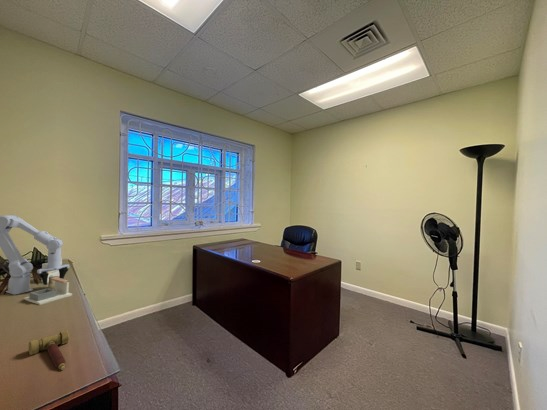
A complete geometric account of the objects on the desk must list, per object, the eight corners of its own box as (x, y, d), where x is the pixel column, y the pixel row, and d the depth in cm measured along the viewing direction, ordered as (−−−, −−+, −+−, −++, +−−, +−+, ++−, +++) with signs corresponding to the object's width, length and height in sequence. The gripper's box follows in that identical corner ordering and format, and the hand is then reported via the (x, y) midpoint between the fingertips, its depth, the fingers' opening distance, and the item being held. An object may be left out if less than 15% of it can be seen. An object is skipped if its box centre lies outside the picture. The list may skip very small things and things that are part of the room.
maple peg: (46, 289, 137) (47, 277, 137) (54, 287, 141) (55, 275, 141) (50, 290, 135) (51, 278, 136) (59, 288, 139) (59, 276, 139)
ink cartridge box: (55, 278, 157) (56, 256, 157) (61, 279, 156) (62, 257, 156) (40, 282, 148) (42, 259, 148) (46, 283, 147) (48, 259, 147)
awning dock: (24, 299, 122) (25, 283, 122) (56, 291, 135) (57, 276, 135) (39, 304, 117) (40, 287, 117) (72, 295, 130) (72, 280, 130)
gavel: (83, 353, 77) (41, 370, 69) (82, 367, 77) (40, 385, 69) (66, 327, 89) (28, 339, 81) (65, 339, 90) (28, 351, 82)
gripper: (42, 263, 130) (41, 287, 130) (72, 258, 144) (71, 280, 144) (35, 261, 133) (34, 285, 132) (65, 256, 146) (64, 278, 146)
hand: (53, 282), depth 138 cm, fingers open, 7 cm apart
